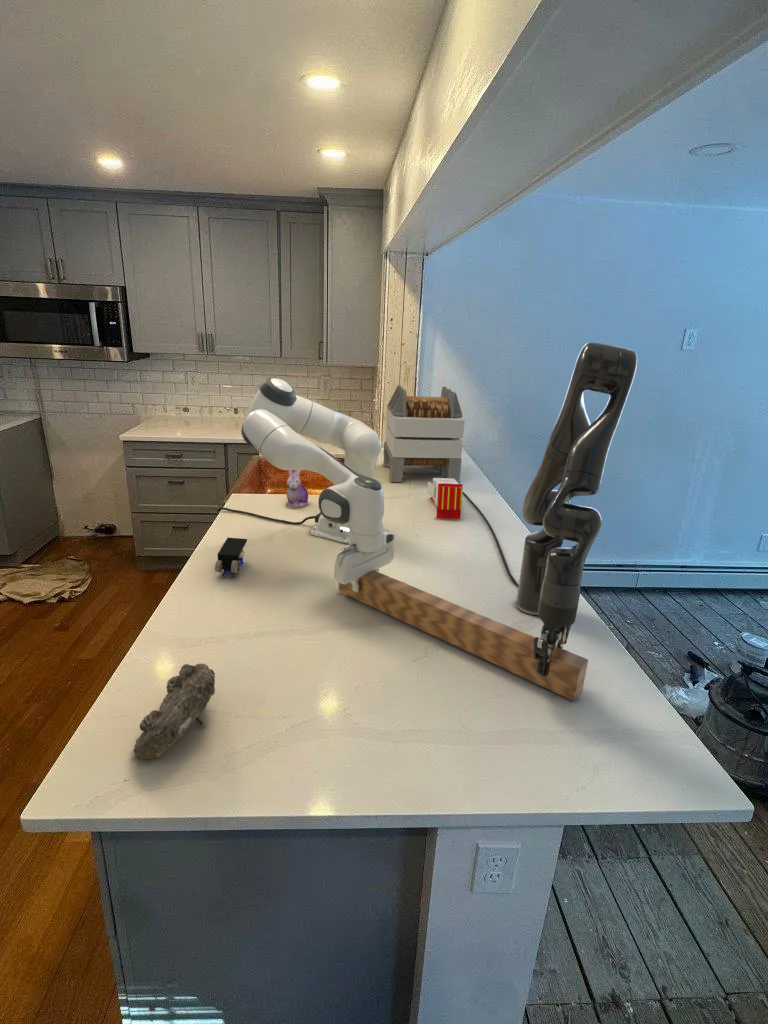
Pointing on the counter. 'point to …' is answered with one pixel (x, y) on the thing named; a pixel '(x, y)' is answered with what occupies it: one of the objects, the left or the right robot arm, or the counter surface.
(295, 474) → the figurine
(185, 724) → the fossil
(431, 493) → the toy
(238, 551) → the figurine character
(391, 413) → the transformer
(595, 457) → the right robot arm
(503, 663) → the post
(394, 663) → the counter surface
